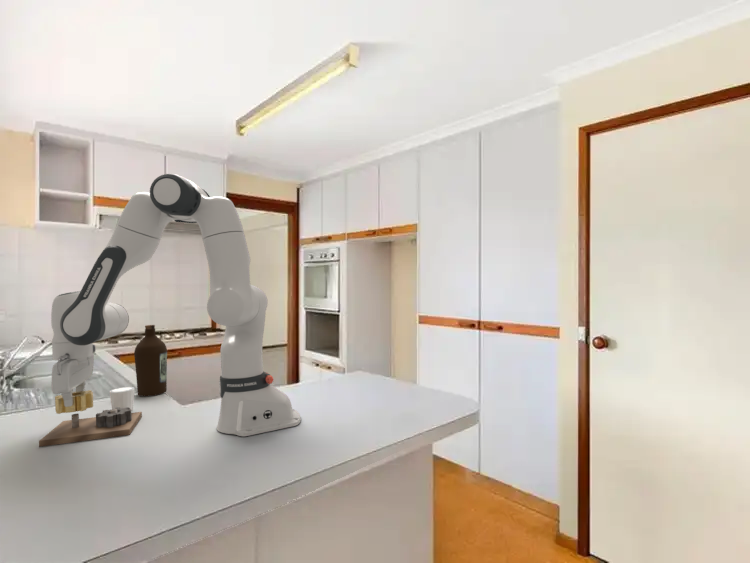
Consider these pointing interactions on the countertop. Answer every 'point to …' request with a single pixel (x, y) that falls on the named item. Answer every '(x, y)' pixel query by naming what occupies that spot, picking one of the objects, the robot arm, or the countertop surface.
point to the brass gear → (75, 402)
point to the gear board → (93, 427)
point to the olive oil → (151, 364)
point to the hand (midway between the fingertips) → (74, 401)
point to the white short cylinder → (122, 397)
